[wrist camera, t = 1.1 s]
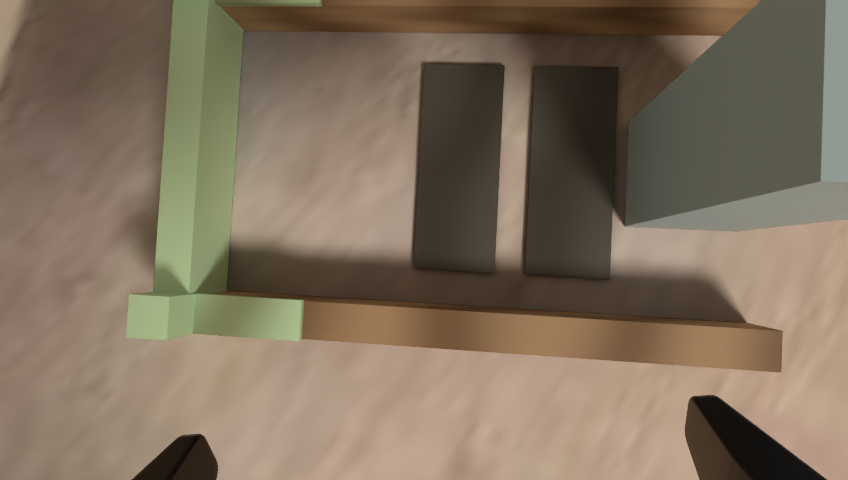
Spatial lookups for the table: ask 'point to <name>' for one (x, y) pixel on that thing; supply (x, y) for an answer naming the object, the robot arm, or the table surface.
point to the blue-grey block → (749, 128)
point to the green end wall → (193, 170)
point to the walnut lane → (479, 182)
